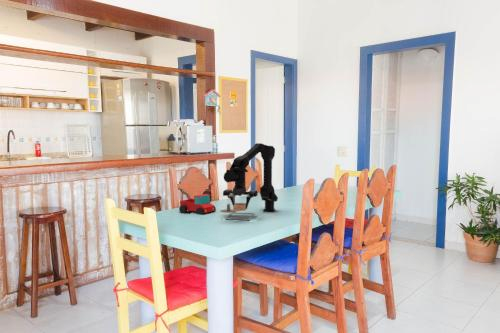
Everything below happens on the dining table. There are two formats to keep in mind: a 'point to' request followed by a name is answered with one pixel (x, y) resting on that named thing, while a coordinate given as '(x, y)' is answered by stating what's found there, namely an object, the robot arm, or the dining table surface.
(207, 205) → the toy truck
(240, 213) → the tray
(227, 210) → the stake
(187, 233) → the dining table surface
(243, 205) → the ring
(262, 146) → the robot arm
